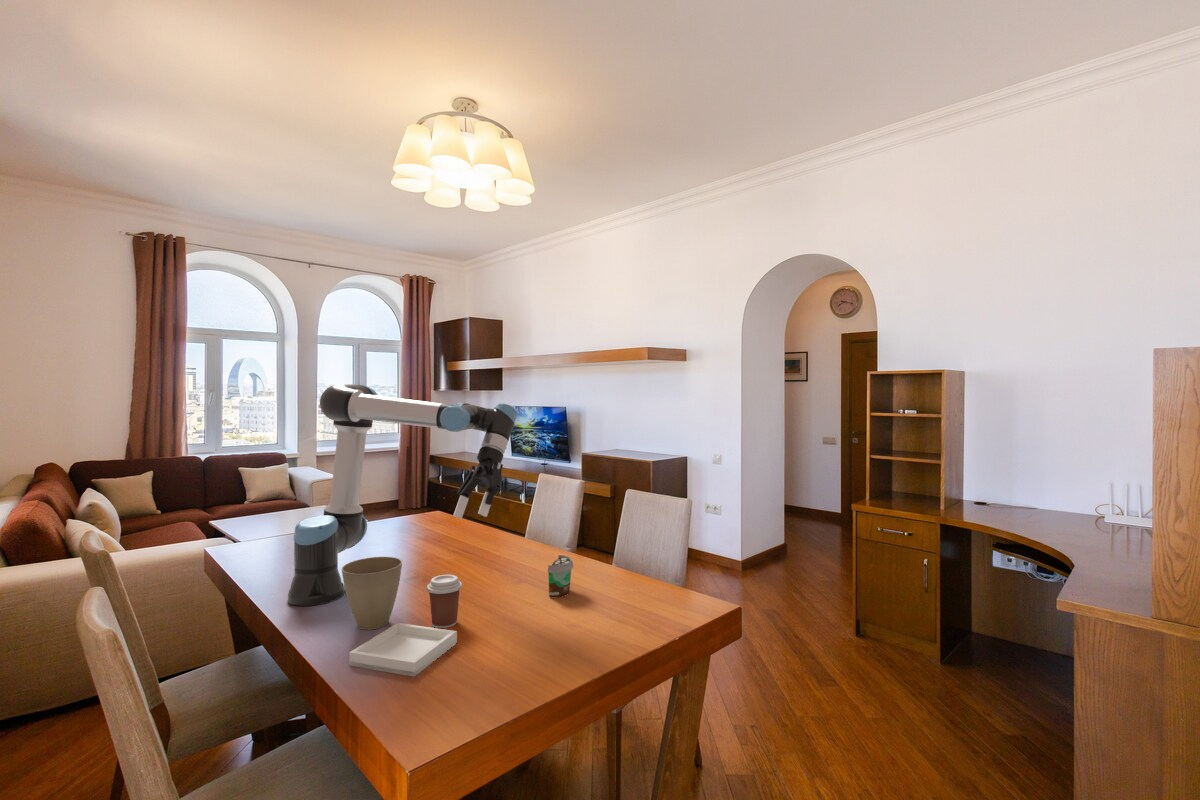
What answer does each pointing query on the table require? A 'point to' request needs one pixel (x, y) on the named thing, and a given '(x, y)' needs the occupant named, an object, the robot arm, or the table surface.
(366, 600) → the plant pot
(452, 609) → the coffee cup
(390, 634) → the tray
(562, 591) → the food container
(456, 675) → the table surface
